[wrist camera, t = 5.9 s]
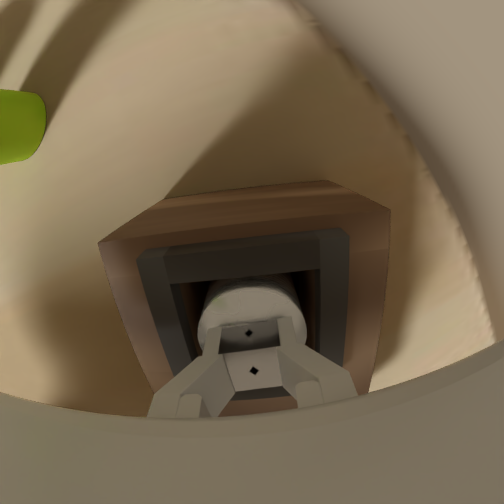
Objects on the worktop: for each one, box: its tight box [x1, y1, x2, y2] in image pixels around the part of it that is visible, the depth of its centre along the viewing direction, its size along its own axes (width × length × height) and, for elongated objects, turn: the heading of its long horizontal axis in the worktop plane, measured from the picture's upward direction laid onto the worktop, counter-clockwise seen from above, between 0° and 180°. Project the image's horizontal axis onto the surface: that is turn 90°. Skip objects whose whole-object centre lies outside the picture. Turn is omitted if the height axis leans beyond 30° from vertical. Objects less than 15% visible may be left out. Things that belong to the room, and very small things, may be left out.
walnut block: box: [98, 181, 390, 417], centre depth 17 cm, size 22×11×10 cm, turn 6°
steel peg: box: [198, 272, 307, 351], centre depth 14 cm, size 4×4×8 cm
